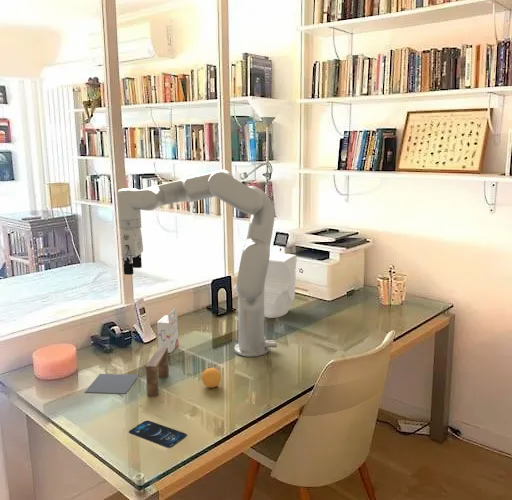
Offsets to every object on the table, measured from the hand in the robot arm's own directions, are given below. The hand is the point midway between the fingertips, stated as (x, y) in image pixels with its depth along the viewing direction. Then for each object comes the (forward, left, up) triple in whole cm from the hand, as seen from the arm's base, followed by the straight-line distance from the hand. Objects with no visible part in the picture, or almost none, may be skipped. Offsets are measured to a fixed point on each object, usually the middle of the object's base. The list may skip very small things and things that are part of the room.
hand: (133, 270), depth 194 cm
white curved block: (-46, -50, -30) cm, 74 cm away
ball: (-32, +28, -27) cm, 51 cm away
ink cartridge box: (-11, -2, -30) cm, 32 cm away
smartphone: (-22, +56, -31) cm, 68 cm away
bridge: (-15, +28, -30) cm, 44 cm away
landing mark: (0, +28, -30) cm, 41 cm away
